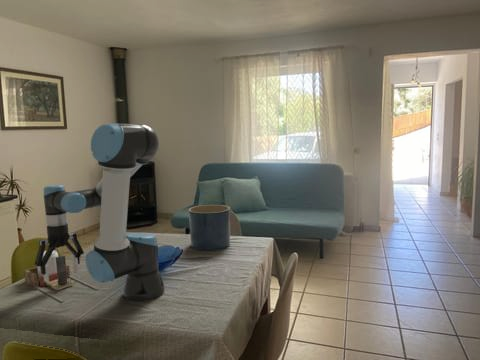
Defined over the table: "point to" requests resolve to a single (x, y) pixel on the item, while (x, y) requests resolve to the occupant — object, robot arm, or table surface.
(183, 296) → the table surface
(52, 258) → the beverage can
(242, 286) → the table surface
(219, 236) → the planter
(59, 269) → the rod slider
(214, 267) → the table surface
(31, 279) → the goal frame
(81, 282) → the pitch lines
